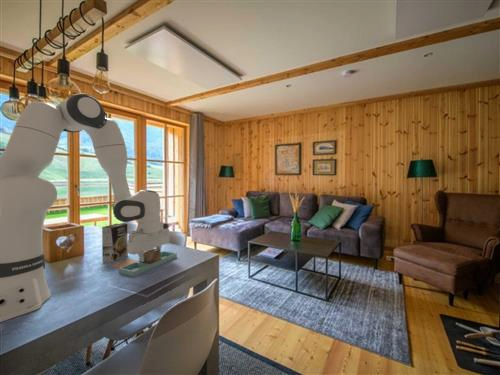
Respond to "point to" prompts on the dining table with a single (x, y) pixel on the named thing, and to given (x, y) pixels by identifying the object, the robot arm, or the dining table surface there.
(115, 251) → the coffee box
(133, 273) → the tray near
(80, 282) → the dining table surface
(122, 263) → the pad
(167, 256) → the tray far
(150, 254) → the letter cube
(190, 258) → the dining table surface
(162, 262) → the tray middle
